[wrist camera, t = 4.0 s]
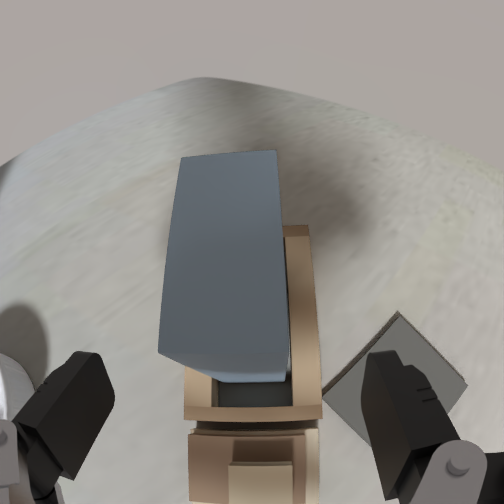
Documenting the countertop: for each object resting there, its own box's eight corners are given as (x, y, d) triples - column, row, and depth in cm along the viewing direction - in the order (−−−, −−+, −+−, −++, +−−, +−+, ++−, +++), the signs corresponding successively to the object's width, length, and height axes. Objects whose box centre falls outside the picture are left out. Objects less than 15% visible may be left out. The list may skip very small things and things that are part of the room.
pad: (321, 397, 17) (321, 397, 17) (397, 317, 19) (399, 315, 18) (395, 469, 14) (397, 471, 14) (465, 386, 16) (468, 385, 15)
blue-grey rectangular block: (284, 381, 18) (288, 351, 8) (225, 382, 18) (157, 352, 8) (280, 273, 21) (276, 149, 11) (226, 275, 21) (181, 157, 11)
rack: (318, 499, 14) (326, 518, 11) (194, 498, 14) (176, 515, 11) (306, 240, 22) (309, 210, 18) (200, 245, 22) (187, 217, 19)
